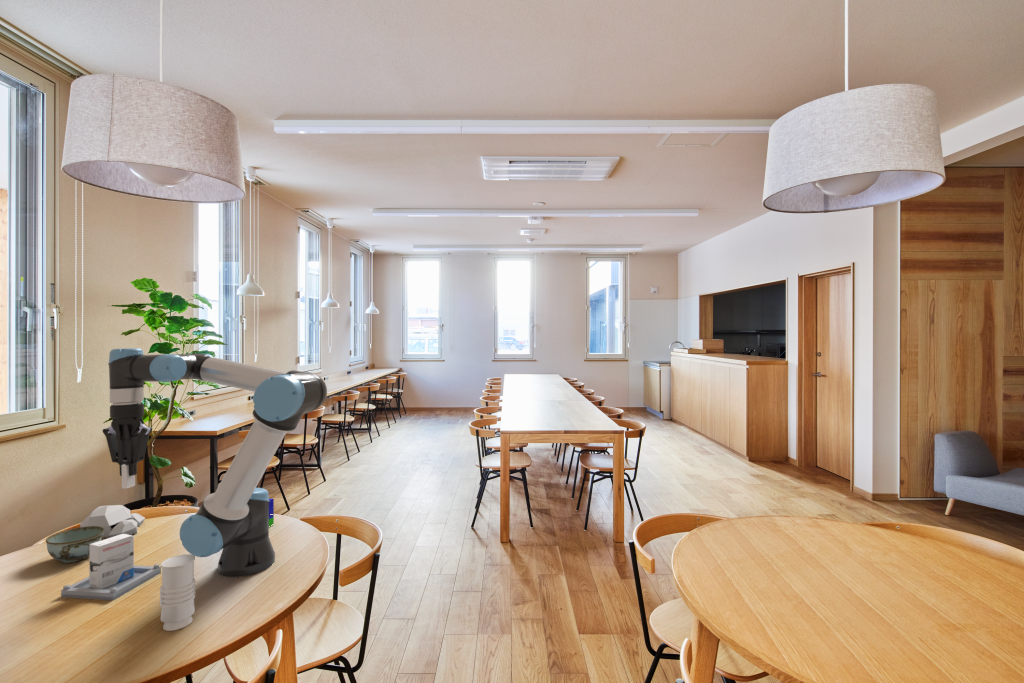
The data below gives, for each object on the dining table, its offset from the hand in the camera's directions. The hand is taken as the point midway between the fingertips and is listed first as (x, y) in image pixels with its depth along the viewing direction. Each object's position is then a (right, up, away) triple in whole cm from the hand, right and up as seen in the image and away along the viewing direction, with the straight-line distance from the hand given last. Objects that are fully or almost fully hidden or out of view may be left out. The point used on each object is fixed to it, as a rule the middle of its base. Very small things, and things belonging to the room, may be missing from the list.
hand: (128, 487), depth 135 cm
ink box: (-3, -26, -2) cm, 26 cm away
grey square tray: (-3, -27, -2) cm, 27 cm away
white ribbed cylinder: (+28, -27, -20) cm, 43 cm away
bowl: (-27, -27, +14) cm, 41 cm away
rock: (-33, -27, +34) cm, 55 cm away
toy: (+14, -27, +38) cm, 49 cm away
